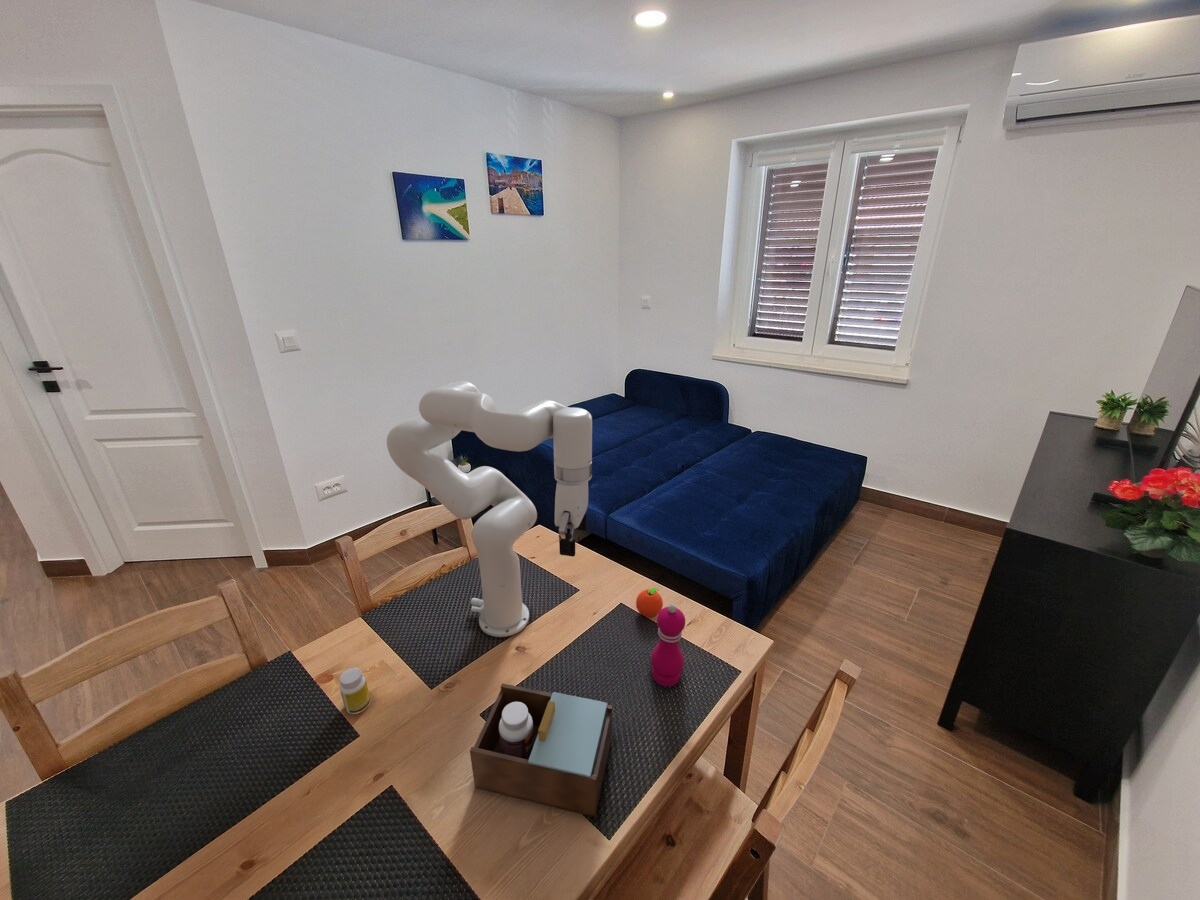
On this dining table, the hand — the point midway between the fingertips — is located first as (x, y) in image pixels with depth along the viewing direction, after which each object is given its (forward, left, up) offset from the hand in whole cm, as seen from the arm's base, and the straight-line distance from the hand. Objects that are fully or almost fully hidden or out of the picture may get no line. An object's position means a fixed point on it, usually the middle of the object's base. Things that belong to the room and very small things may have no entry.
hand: (573, 541), depth 103 cm
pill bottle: (-4, -28, -30) cm, 41 cm away
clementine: (+16, +16, -31) cm, 38 cm away
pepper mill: (+22, -3, -31) cm, 38 cm away
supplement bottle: (-40, -25, -31) cm, 56 cm away
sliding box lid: (+7, -28, -20) cm, 35 cm away
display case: (+2, -28, -30) cm, 41 cm away
